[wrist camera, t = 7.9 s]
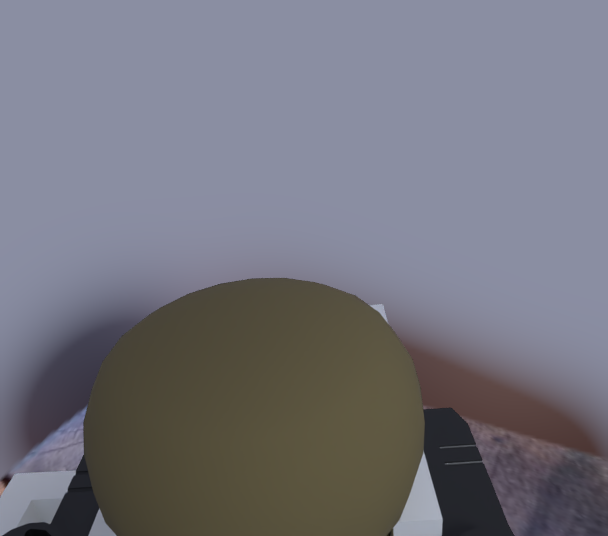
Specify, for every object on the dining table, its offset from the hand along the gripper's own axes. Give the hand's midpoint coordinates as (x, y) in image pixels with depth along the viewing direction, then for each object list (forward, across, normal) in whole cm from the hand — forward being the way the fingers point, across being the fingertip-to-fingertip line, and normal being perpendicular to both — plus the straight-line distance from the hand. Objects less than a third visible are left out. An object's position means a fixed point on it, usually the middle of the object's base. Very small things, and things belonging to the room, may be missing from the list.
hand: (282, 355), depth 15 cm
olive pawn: (-5, 0, -7) cm, 9 cm away
